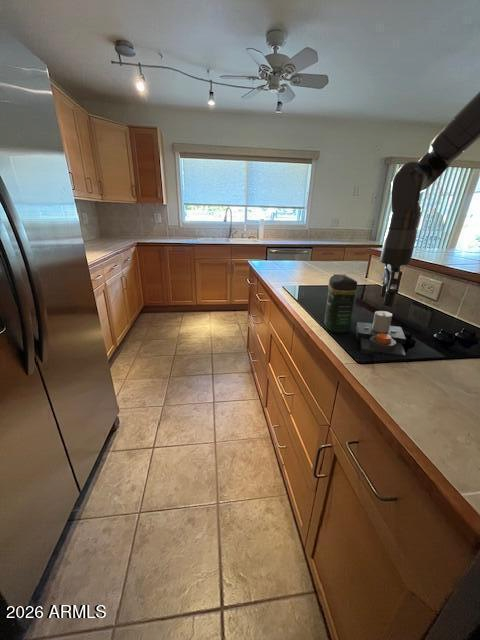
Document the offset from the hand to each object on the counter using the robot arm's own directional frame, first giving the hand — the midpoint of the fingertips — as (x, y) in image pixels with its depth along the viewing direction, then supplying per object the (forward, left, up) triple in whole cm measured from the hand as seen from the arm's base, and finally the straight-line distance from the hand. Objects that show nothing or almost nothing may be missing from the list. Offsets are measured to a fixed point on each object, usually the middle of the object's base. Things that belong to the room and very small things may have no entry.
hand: (385, 301), depth 79 cm
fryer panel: (0, 0, -13) cm, 13 cm away
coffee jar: (+13, -4, -13) cm, 19 cm away
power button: (0, +8, -9) cm, 13 cm away
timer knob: (0, 0, -10) cm, 10 cm away
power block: (0, +8, -13) cm, 15 cm away
